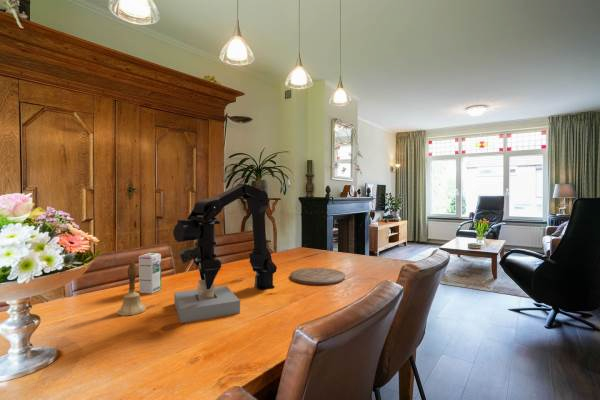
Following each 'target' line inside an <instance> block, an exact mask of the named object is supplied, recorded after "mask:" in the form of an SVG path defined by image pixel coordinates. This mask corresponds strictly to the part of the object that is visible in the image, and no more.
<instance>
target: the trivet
mask: <svg viewBox="0 0 600 400" xmlns="http://www.w3.org/2000/svg"><path fill="white" fill-rule="evenodd" d="M289 274H290V275H289V277H290V280H291V281H292V282H294V283H297V284H301V283H302V285H306V284H308V285H307V286H331V285H330V284H333V285H337V284H336V283H338V284H340V282H341V283H342V281H343V280H344V281H345V280H346V275H345V273H344V272H342V271H340V270H337V269H333V268H328V267H304V268H303V267H302V268H298V269H294V270H293V271H291V273H289ZM344 281H343V282H344Z"/></svg>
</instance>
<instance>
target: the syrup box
mask: <svg viewBox="0 0 600 400" xmlns="http://www.w3.org/2000/svg"><path fill="white" fill-rule="evenodd" d="M138 275H139V276H138V279H139V281H138V283H139V285H138V286H139V288H138V290H139V294H140V293H141V294H154V293H156V292H158V291H160V290H162V289H163V288H162V254H161V253H159V252H148V253H145V254H141V255H139V256H138Z"/></svg>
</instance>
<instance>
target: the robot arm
mask: <svg viewBox="0 0 600 400" xmlns="http://www.w3.org/2000/svg"><path fill="white" fill-rule="evenodd" d="M240 198H242V199H244V200H245V201H246V204H247V207H248V209H249V211H250V212H251V218H252V219H251V220H252V232H253V233H252V234H253V235H252V236H253V250H252V252H249V254H248V255H249V264H250V266H251V268H252V271H253V272H255V275H254V286H255V287H256V288H257V289H258V290H266V289H267V290H268V289H271V288H272V289H273V288H275V285H274V274H275V273H276V272H277V268H278V267H277V265H276V264H275V263H274V262H273V260H272V259H273V258H272V253H271V252H270V251H269V249H268V247H267V235H266V219H265V211H266V210H267V208H268V205H269V194H268V192H266V190H264V189H263V190H262V189H260V188H258V187H255V186H253V185H250V184H249V183H238V184H236V185H234V186H233V187H231V188H229V189H227V190H226V191H224V192H222V193H219V194H217V195H216V196H212V197H210V198H205V199H204V198H203V199H200V200H197V201H196V202H195V203H194V206H193V209H192V210H191V212H190V213H189V215H188V217H187V219H177V223H176V224H175V226H174V228H173V230H172V233H173V234H172V235H173V238H174V240H175V241H176V242H178V243H183V242H191V241H195V242H194V246H191V247H190V246H189V247H188V248H185V249H183V250H180V251H178V252H177V254H178V257H179V259H180V261H181V264H186V263H188V262H190V261H191V260H192V262H193V263H194V264H195V265H196V266H197V268H198V271H199V275H200V276H199V278H200V280H205V283H206V288H207V289H210V288H211V286H212V284H213V282H214V283H215V279H216V277H217V275H218V273H219V271H220V270H221V269H222V262H221V261H220V260H219V258H217V254H216V253H215V252H216V249H215V248H216V246H217V242H216V236H215V235H216V232H215V228H216V227H215V226H216V225H220V224H221V221H219V220H218V219H217V217H218V215H219V214H220V213H221V212H222V211H223V209H224V208H225V207H227V206H228V205H230V204H232V203H233V202H235V201H237V200H239V199H240Z"/></svg>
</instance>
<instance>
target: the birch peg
mask: <svg viewBox="0 0 600 400" xmlns="http://www.w3.org/2000/svg"><path fill="white" fill-rule="evenodd" d="M214 287H215V281H214V282H213V284H212V286H211V288H210V289H207V288H206V283H205V280H201V279H200V280H199V279H198V280H197V289H198V301H199V300H206V299H213V298H214Z"/></svg>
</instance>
